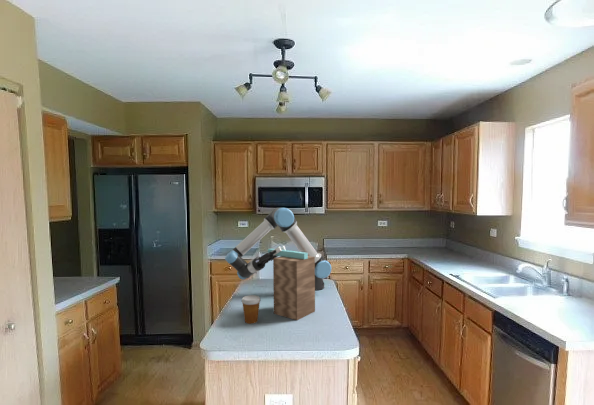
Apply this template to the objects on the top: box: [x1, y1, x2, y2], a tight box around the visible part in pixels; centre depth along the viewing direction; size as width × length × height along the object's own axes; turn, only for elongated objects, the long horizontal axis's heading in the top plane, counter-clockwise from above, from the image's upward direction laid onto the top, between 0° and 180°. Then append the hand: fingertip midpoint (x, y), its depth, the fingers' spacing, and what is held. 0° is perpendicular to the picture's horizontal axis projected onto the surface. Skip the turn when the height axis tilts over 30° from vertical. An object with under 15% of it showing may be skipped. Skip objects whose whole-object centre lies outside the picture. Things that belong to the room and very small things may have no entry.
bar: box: [267, 248, 308, 259], centre depth 178 cm, size 26×3×3 cm, turn 52°
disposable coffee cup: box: [241, 294, 261, 325], centre depth 163 cm, size 10×10×12 cm
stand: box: [272, 256, 316, 321], centre depth 175 cm, size 16×16×30 cm
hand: (282, 248), depth 180 cm, fingers closed on bar, 3 cm apart
